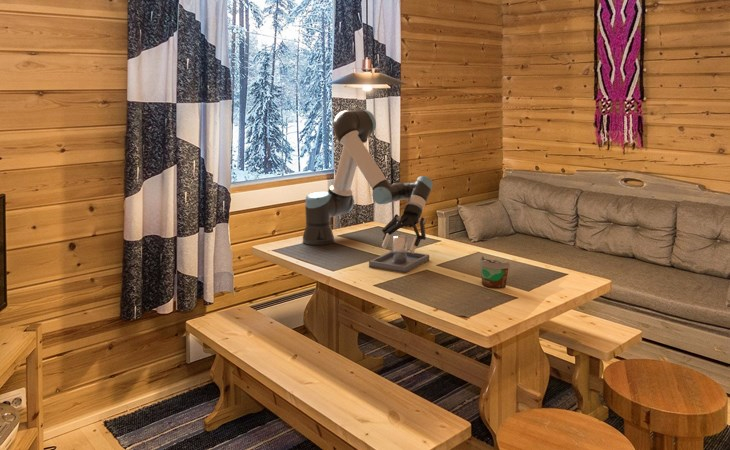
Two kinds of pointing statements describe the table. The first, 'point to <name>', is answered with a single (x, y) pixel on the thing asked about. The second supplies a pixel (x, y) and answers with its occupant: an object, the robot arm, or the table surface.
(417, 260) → the slate tray
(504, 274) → the food container
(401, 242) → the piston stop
